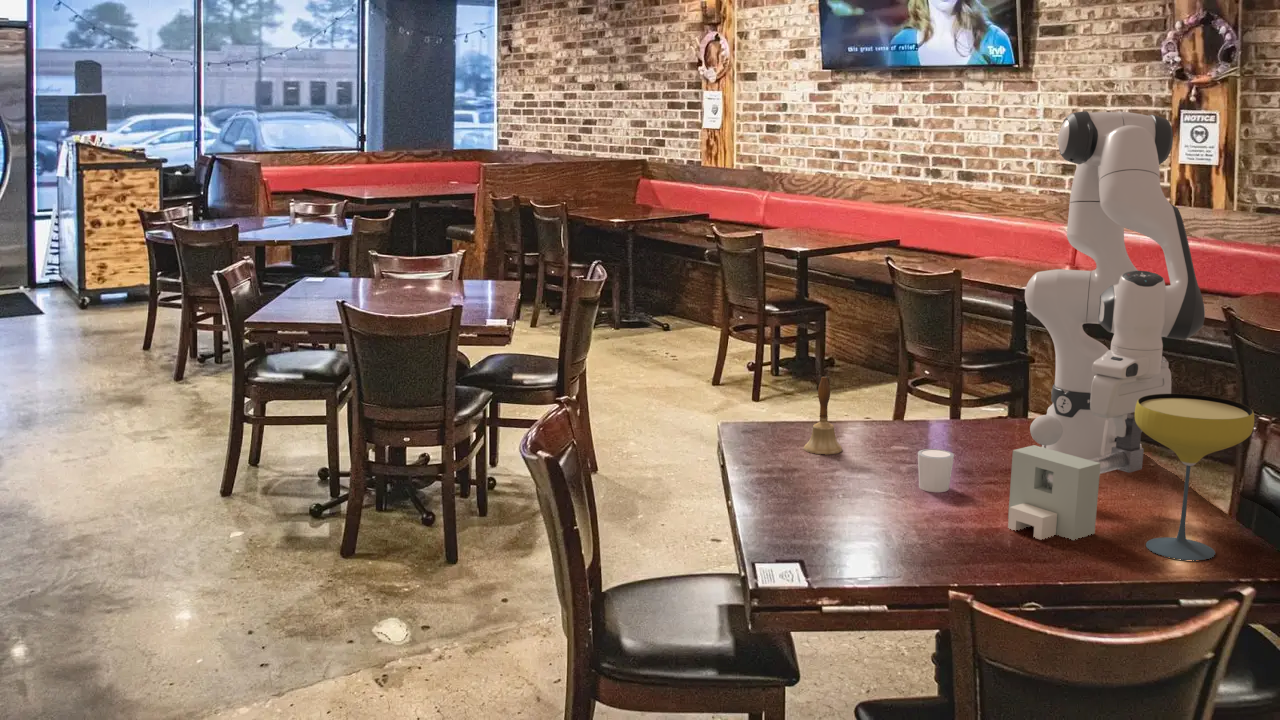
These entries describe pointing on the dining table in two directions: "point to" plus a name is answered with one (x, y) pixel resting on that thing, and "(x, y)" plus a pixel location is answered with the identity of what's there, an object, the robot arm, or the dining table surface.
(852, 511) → the dining table surface
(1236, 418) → the cocktail glass
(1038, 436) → the lollipop
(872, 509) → the dining table surface
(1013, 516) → the block
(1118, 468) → the hammer
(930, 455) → the white cup
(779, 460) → the dining table surface
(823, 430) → the hand bell
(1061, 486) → the grey slotted block
